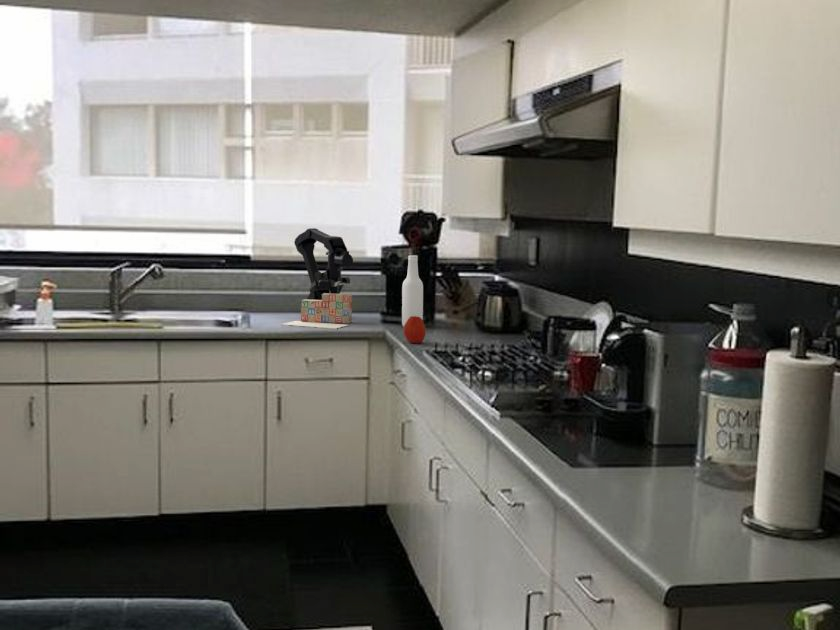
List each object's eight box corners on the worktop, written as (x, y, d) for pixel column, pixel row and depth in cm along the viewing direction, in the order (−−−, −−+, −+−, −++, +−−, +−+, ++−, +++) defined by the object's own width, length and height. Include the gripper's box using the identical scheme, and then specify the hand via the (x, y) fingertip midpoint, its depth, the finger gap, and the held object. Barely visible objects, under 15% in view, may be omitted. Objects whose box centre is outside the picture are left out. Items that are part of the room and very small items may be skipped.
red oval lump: (400, 343, 340) (400, 315, 339) (408, 340, 348) (408, 312, 347) (420, 345, 338) (421, 316, 336) (428, 341, 345) (429, 313, 344)
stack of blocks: (300, 321, 393) (300, 293, 391) (303, 320, 399) (304, 292, 398) (349, 323, 390) (350, 294, 389) (352, 322, 397) (352, 293, 396)
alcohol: (397, 326, 385) (398, 255, 381) (410, 324, 391) (411, 254, 388) (414, 328, 379) (414, 256, 375) (426, 326, 386) (427, 255, 382)
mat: (295, 321, 396) (295, 320, 396) (348, 325, 386) (348, 324, 386) (281, 325, 385) (281, 324, 385) (335, 329, 375) (335, 328, 375)
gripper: (328, 263, 410) (328, 298, 412) (307, 266, 393) (307, 302, 395) (350, 264, 406) (350, 299, 408) (330, 267, 389) (330, 303, 391)
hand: (334, 301), depth 400 cm, fingers closed
